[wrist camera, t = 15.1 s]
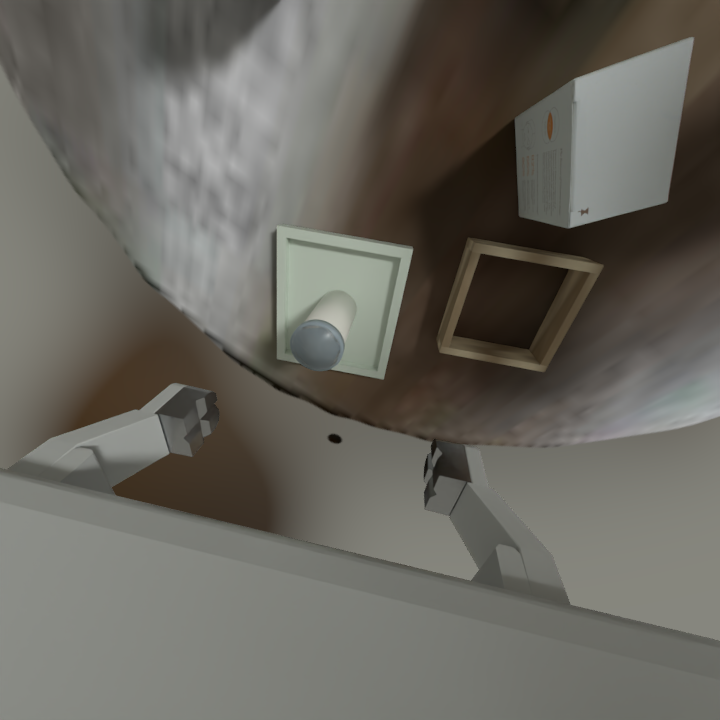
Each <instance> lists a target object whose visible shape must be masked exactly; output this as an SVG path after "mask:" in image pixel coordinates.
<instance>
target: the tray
mask: <svg viewBox="0 0 720 720" xmlns="http://www.w3.org/2000/svg"><path fill="white" fill-rule="evenodd" d="M412 253H413V247H412V246H406V245H400V244H395V243H389V242H383V241H378V240H372V239H366V238H361V237H355V236H349V235H343V234H338V233H332V232H326V231H321V230H315V229H309V228H304V227H298V226H292V225H287V224H280V225H277V359H279V360H284V361H290V362H295V363H299V362H298V361H297V360H296V359H295V357H294V356H293V354H292V351H291V348H290V339H291V336H292V334H293V332H294V331H295V330H296V328H297V327H298V326H299V325H300V324H301V323H303V322H305V320H306V319H307V318H308V316H309V315H310V314H311V312H312V311H313V310H314V308H315V307H316V306H317V304H318V303H319V302H320V300H321V299H322V298H323V296H324V295H325V294H326V293H328V292H330V291H333V290H340V291H344V292H346V293H348V294H349V295H350V296H351V297H352V298H353V299H354V301H355V303H356V307H357V312H356V316H355V318H354V321H353V324H352V326H351V329H350V331H349V334H348V337H347V339H346V342H345V349H344V353H343V356H342V358H341V360H340V362H339V363H338V364H337V365H336V366H335V367H334V368H332V369H331V370H336V371H342V372H347V373H352V374H357V375H362V376H368V377H373V378H378V379H383V380H384V376H385V372H386V367H387V363H388V358H389V354H390V350H391V345H392V341H393V336H394V332H395V328H396V323H397V319H398V314H399V310H400V306H401V301H402V297H403V292H404V288H405V283H406V279H407V275H408V270H409V266H410V261H411V257H412Z"/></svg>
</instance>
